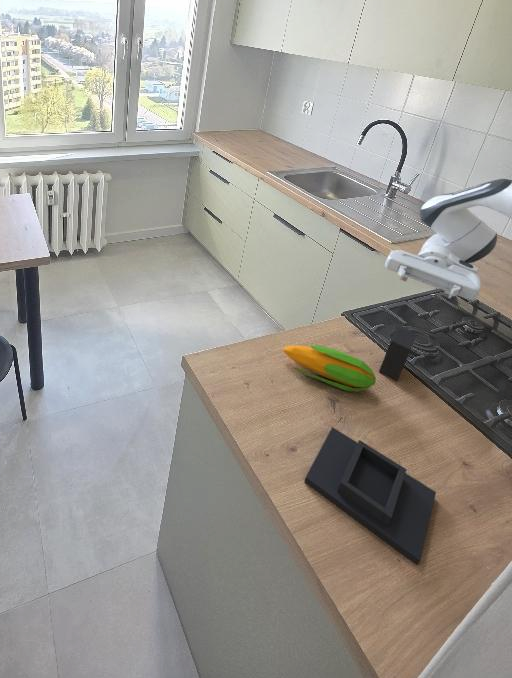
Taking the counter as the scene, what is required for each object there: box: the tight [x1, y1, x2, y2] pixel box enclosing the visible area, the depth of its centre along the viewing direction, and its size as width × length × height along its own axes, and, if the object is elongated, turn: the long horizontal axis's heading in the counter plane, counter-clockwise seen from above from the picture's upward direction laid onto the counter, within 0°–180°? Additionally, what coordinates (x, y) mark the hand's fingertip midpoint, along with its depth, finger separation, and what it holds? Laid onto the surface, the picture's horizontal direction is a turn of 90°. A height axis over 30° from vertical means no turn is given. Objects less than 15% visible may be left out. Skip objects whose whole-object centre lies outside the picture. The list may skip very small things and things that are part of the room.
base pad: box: [303, 426, 437, 566], centre depth 75 cm, size 18×14×4 cm
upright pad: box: [378, 325, 417, 382], centre depth 100 cm, size 4×7×10 cm, turn 137°
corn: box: [283, 344, 377, 392], centre depth 97 cm, size 7×8×20 cm
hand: (425, 286), depth 103 cm, fingers open, 8 cm apart
